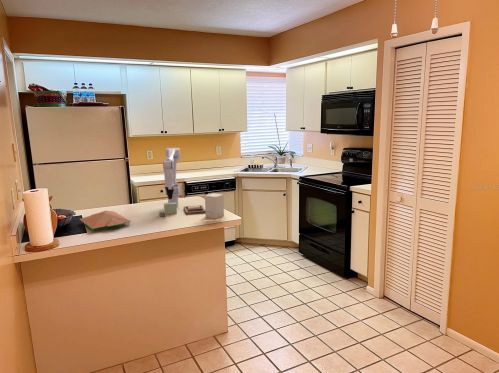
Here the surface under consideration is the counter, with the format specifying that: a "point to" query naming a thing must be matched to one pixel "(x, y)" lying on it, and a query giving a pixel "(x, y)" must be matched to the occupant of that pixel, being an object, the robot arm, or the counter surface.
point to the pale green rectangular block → (170, 208)
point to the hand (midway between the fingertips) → (169, 198)
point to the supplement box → (214, 205)
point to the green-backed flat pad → (104, 220)
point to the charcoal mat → (162, 214)
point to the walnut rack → (194, 210)
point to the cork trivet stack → (193, 207)
